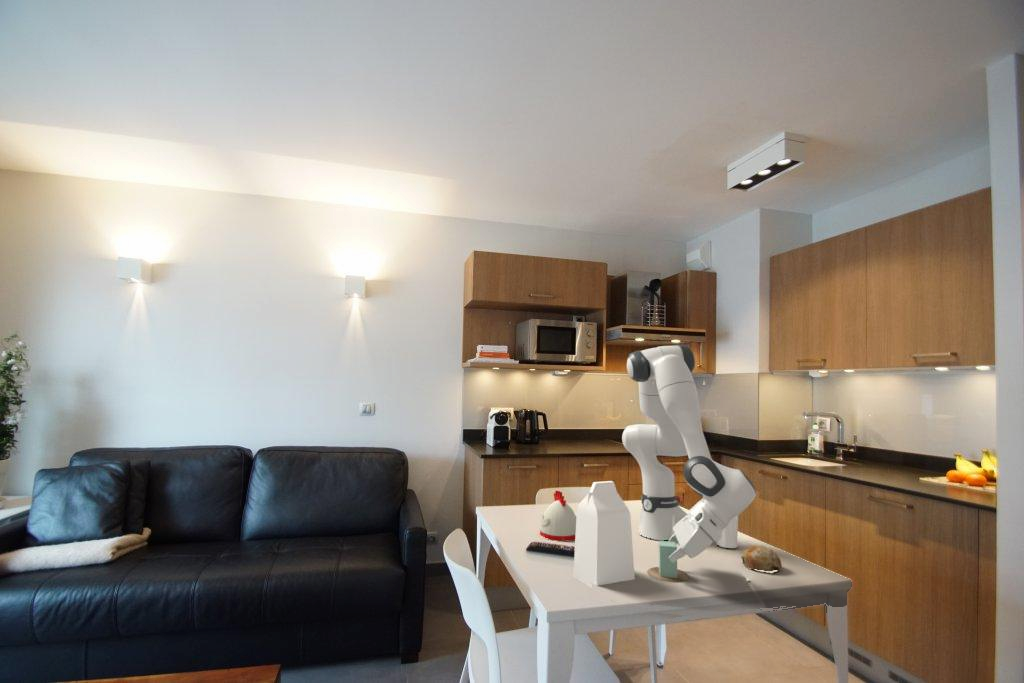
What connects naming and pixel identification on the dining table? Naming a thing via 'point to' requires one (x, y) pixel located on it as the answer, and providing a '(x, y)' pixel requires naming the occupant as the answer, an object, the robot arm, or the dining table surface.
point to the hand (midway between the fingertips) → (668, 554)
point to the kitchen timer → (558, 520)
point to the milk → (603, 537)
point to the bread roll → (761, 558)
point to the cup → (729, 534)
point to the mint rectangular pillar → (667, 559)
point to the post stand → (680, 577)
